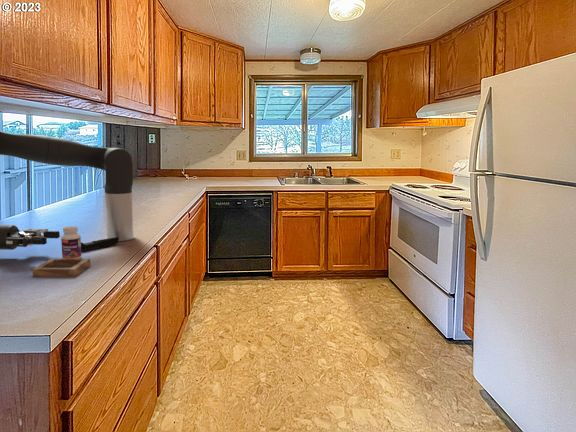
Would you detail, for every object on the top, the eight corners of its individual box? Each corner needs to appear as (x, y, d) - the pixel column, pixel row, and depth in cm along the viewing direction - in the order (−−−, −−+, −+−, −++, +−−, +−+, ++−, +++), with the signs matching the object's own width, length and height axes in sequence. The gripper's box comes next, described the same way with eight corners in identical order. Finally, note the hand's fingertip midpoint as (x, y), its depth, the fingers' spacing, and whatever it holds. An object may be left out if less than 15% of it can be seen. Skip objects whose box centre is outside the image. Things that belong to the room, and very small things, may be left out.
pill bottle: (60, 260, 138) (58, 229, 137) (65, 256, 144) (63, 225, 142) (79, 260, 140) (77, 228, 138) (83, 255, 145) (81, 225, 143)
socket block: (51, 265, 134) (51, 258, 133) (90, 265, 134) (90, 258, 134) (32, 276, 123) (32, 269, 122) (74, 276, 123) (74, 269, 123)
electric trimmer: (121, 246, 160) (120, 237, 160) (78, 253, 148) (78, 244, 148) (114, 244, 163) (114, 235, 162) (72, 252, 150) (72, 242, 150)
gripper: (-17, 229, 132) (40, 230, 133) (10, 221, 146) (62, 221, 147) (-15, 255, 133) (42, 255, 134) (12, 244, 147) (64, 244, 148)
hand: (52, 237), depth 140 cm, fingers open, 8 cm apart
